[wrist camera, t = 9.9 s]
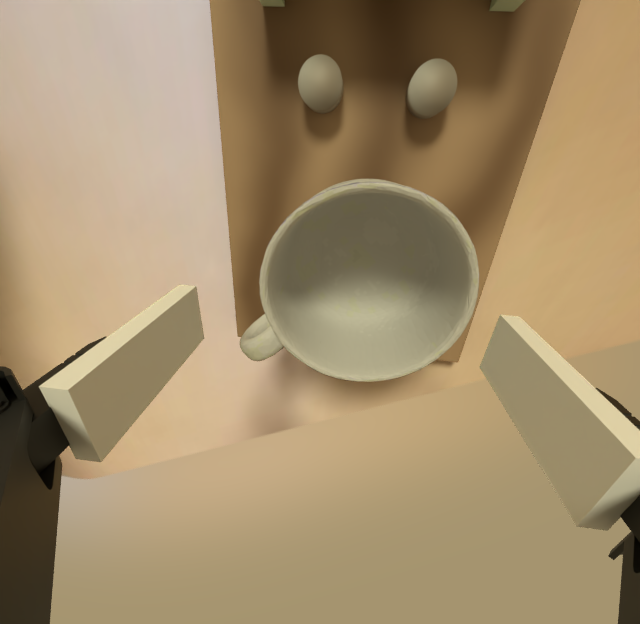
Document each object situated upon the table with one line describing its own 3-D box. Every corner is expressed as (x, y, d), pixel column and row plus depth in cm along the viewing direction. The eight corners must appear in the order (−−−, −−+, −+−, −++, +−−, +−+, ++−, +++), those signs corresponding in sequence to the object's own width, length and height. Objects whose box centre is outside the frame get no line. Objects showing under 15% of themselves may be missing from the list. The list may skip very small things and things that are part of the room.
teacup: (421, 146, 18) (461, 135, 11) (454, 300, 22) (498, 364, 15) (229, 226, 22) (165, 256, 14) (288, 345, 26) (260, 414, 19)
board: (242, 329, 27) (231, 345, 25) (206, -166, 14) (174, -232, 12) (453, 354, 25) (463, 373, 23) (627, -178, 13) (689, -257, 10)
